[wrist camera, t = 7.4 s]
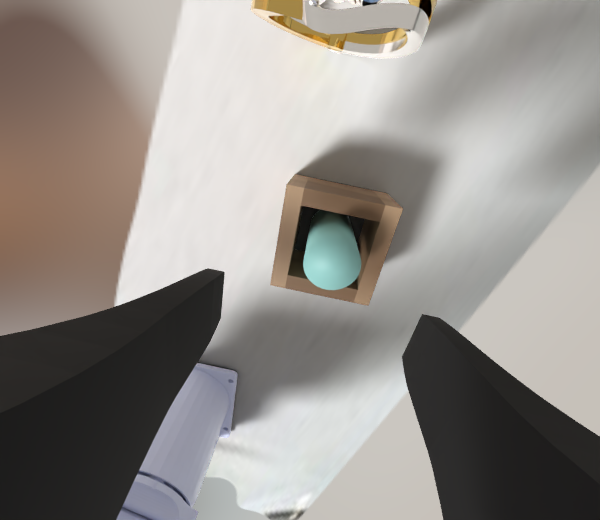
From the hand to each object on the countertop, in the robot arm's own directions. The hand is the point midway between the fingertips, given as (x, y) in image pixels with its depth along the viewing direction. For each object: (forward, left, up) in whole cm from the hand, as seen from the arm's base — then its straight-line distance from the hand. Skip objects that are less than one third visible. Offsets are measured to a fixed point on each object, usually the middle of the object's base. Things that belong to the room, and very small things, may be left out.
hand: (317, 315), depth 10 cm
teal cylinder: (0, -1, -10) cm, 10 cm away
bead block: (0, -1, -10) cm, 10 cm away
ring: (+10, +1, -10) cm, 14 cm away
